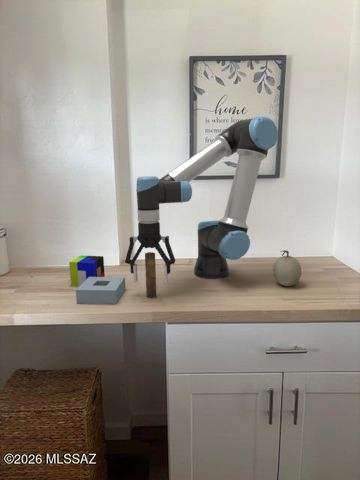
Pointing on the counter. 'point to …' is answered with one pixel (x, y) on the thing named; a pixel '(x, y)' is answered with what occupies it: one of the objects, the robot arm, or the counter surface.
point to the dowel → (150, 274)
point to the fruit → (287, 270)
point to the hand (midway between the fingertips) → (151, 281)
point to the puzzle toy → (86, 268)
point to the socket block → (101, 290)
